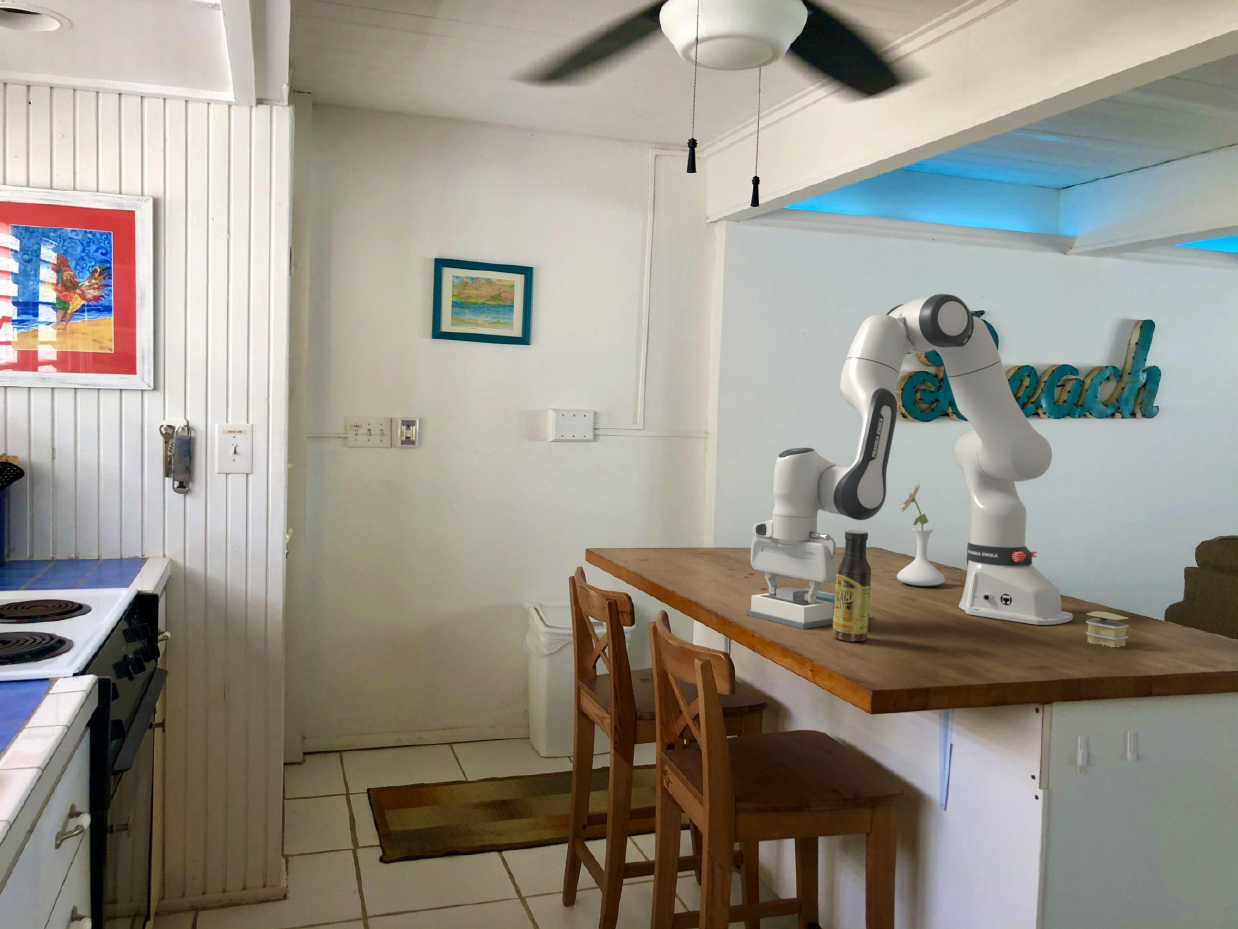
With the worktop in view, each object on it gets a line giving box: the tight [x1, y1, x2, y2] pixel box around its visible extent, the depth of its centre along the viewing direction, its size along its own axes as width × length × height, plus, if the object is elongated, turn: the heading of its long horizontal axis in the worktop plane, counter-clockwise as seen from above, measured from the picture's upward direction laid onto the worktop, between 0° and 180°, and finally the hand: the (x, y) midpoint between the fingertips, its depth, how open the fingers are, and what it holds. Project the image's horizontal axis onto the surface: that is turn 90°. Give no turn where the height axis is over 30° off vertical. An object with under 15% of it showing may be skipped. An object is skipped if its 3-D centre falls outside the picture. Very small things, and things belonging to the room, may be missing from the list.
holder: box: [746, 588, 871, 630], centre depth 196 cm, size 15×20×4 cm
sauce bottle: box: [832, 529, 872, 643], centre depth 176 cm, size 6×6×20 cm
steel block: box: [776, 586, 809, 606], centre depth 193 cm, size 4×4×5 cm
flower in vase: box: [896, 483, 946, 587], centre depth 237 cm, size 13×11×25 cm
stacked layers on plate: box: [1085, 610, 1130, 648], centre depth 179 cm, size 10×9×6 cm
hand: (792, 598), depth 193 cm, fingers open, 8 cm apart
